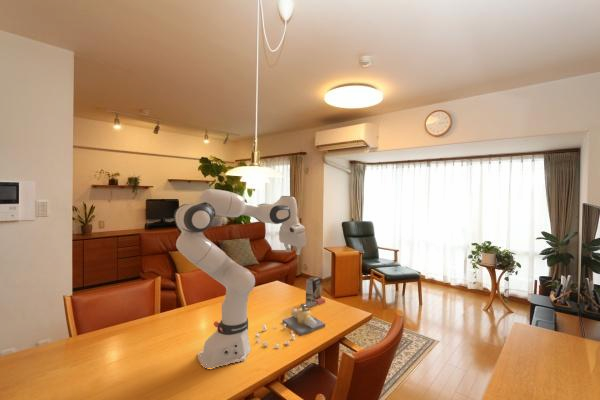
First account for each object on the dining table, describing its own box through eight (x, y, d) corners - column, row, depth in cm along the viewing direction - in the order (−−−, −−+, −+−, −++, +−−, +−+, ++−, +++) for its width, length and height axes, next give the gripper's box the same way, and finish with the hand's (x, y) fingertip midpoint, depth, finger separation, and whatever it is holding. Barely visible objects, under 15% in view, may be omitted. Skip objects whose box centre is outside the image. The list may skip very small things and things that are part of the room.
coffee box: (313, 306, 170) (313, 281, 170) (305, 304, 174) (305, 279, 174) (321, 302, 177) (321, 277, 177) (313, 299, 181) (313, 275, 181)
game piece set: (250, 333, 139) (250, 326, 139) (286, 325, 148) (286, 317, 148) (263, 353, 121) (263, 345, 121) (302, 342, 131) (303, 334, 130)
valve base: (301, 335, 136) (301, 317, 136) (282, 322, 150) (282, 306, 150) (325, 326, 146) (325, 309, 145) (305, 314, 159) (305, 299, 159)
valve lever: (303, 309, 145) (303, 306, 145) (299, 307, 148) (299, 304, 148) (325, 303, 155) (325, 299, 154) (321, 301, 157) (321, 297, 157)
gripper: (275, 226, 148) (277, 251, 149) (296, 230, 131) (299, 258, 132) (284, 223, 151) (287, 248, 152) (307, 227, 134) (309, 255, 136)
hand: (293, 253), depth 142 cm, fingers open, 8 cm apart
